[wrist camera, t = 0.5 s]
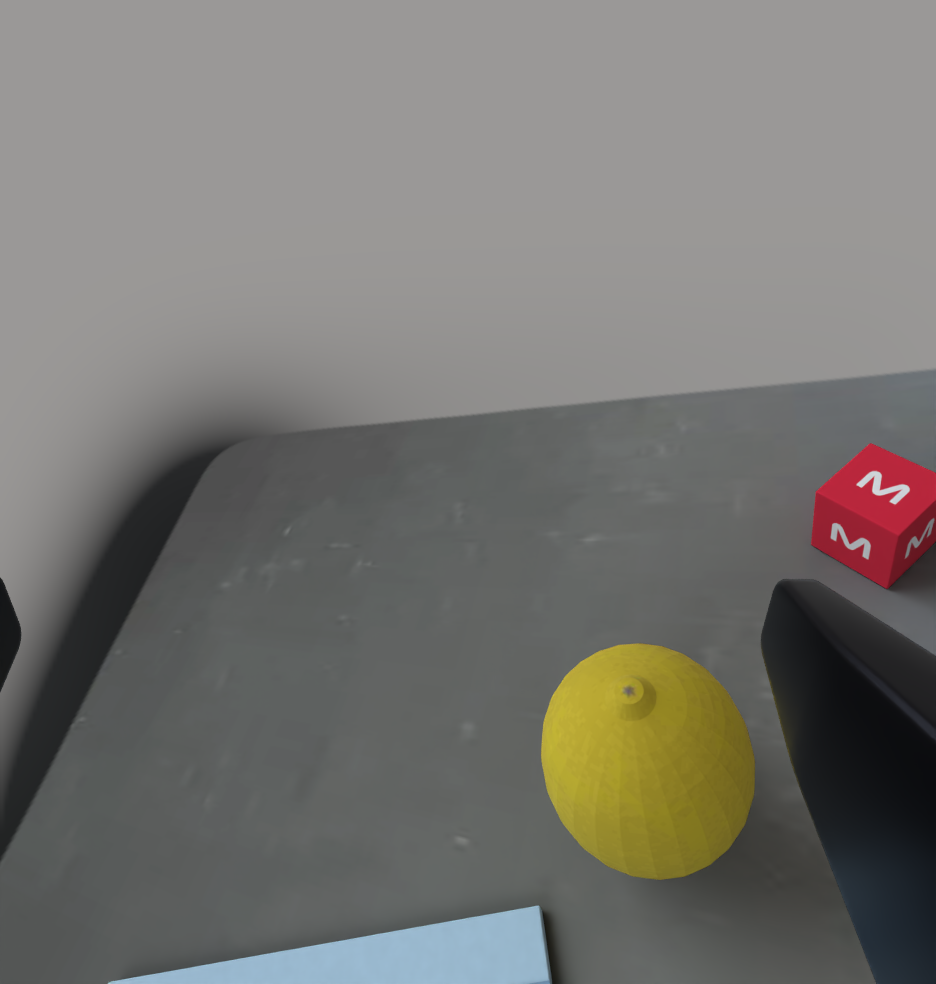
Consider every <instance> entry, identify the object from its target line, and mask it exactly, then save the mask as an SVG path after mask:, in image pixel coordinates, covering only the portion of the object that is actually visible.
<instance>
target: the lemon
mask: <svg viewBox="0 0 936 984" xmlns="http://www.w3.org/2000/svg"><path fill="white" fill-rule="evenodd" d="M541 760H542V765H543V771H544V776H545V781H546V787H547V791H548V794H549V796H550V798H551V801H552V803H553V805H554V807H555V809H556V811H557V813H558V815H559V817H560V819H561V821H562V823H563V824H564V826H565V827H566V828H567V829H568V831H569V832H570V833H571V834H572V835H573V837H574V838H575V839H576V840H577V842H578V843H579V844H580V845H581V846H582V847H583V848H584V849H585V850H586V851H588V852H589V853H590V854H592V855H593V856H594V857H596V858H597V859H598V860H600V861H601V862H602V863H604V864H605V865H607V866H608V867H611V868H613V869H616V870H618V871H621V872H623V873H626V874H628V875H631V876H634V877H642V878H649V879H657V880H663V879H670V878H678V877H685V876H687V875H689V874H692V873H694V872H696V871H698V870H701V869H703V868H705V867H707V866H709V865H710V864H712V863H713V862H714V861H715V860H716V859H718V858H719V857H720V856H721V855H722V854H723V853H725V852H726V851H727V850H728V849H729V848H730V846H731V845H732V843H733V842H734V840H735V839H736V837H737V836H738V834H739V833H740V831H741V830H742V828H743V827H744V825H745V823H746V820H747V816H748V813H749V810H750V807H751V803H752V800H753V797H754V789H755V759H754V754H753V750H752V746H751V742H750V738H749V734H748V730H747V727H746V724H745V722H744V720H743V718H742V716H741V714H740V713H739V711H738V709H737V707H736V706H735V704H734V702H733V700H732V698H731V697H730V695H729V694H728V692H727V691H726V690H725V688H724V687H723V686H722V685H721V684H720V683H719V682H718V681H717V680H716V679H715V678H714V677H713V676H712V675H711V674H710V672H709V671H708V670H707V669H705V668H704V667H702V666H701V665H699V664H698V663H696V662H695V661H693V660H692V659H690V658H689V657H687V656H686V655H684V654H682V653H679V652H676V651H674V650H671V649H668V648H666V647H663V646H656V645H648V644H626V645H618V646H614V647H611V648H608V649H605V650H601V651H599V652H597V653H595V654H594V655H592V656H590V657H588V658H587V659H585V660H583V661H581V662H580V663H579V664H578V665H577V666H576V667H575V668H574V669H573V670H571V671H570V672H569V673H568V674H567V675H566V676H565V678H564V679H563V681H562V682H561V684H560V685H559V687H558V688H557V690H556V691H555V693H554V695H553V696H552V698H551V701H550V704H549V707H548V710H547V713H546V716H545V720H544V724H543V735H542V748H541Z"/></svg>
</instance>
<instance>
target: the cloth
mask: <svg viewBox="0 0 936 984" xmlns="http://www.w3.org/2000/svg"><path fill="white" fill-rule="evenodd" d="M108 984H552V977H551V970H550V963H549V956H548V949H547V942H546V935H545V927H544V920H543V913H542V909H541V908H540V906H533V907H527V908H522V909H516V910H511V911H505V912H499V913H494V914H488V915H483V916H477V917H471V918H466V919H460V920H454V921H449V922H443V923H438V924H432V925H426V926H421V927H415V928H410V929H404V930H398V931H393V932H387V933H382V934H376V935H370V936H365V937H359V938H353V939H348V940H342V941H337V942H331V943H325V944H320V945H314V946H309V947H303V948H297V949H292V950H286V951H280V952H275V953H269V954H264V955H258V956H252V957H247V958H241V959H236V960H230V961H224V962H219V963H213V964H208V965H202V966H196V967H191V968H185V969H179V970H174V971H168V972H163V973H157V974H151V975H146V976H140V977H135V978H129V979H123V980H118V981H112V982H109V983H108Z"/></svg>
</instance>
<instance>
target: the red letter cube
mask: <svg viewBox="0 0 936 984" xmlns="http://www.w3.org/2000/svg"><path fill="white" fill-rule="evenodd" d="M935 542H936V473H935V472H933V471H931V470H928V469H926V468H924V467H922V466H920V465H917V464H915V463H913V462H911V461H909V460H906V459H904V458H902V457H900V456H898V455H896V454H893V453H891V452H889V451H887V450H885V449H882V448H880V447H878V446H876V445H874V444H871V443H870V444H869V445H868V446H867V447H865V448H864V449H863V450H862V451H861V452H860V453H859V454H858V455H856V456H855V457H854V458H853V459H852V460H851V461H850V462H849V463H847V464H846V465H845V466H844V467H843V468H842V469H841V470H840V471H838V472H837V473H836V474H835V475H834V476H833V477H832V478H831V479H830V480H828V481H827V482H826V483H825V484H824V485H823V486H822V487H821V488H819V489H818V490H817V491H816V497H815V508H814V519H813V530H812V541H811V545H812V546H814V547H816V548H818V549H819V550H821V551H823V552H824V553H826V554H828V555H829V556H831V557H833V558H835V559H836V560H838V561H840V562H841V563H843V564H845V565H847V566H848V567H850V568H852V569H853V570H855V571H857V572H858V573H860V574H862V575H864V576H865V577H867V578H869V579H870V580H872V581H874V582H876V583H877V584H879V585H881V586H882V587H884V588H886V589H888V588H889V587H890V586H891V585H892V584H893V583H894V582H895V581H896V580H897V579H898V578H899V577H900V576H901V575H902V574H903V573H904V572H905V571H906V570H907V569H908V568H909V567H910V566H911V565H913V564H914V563H915V562H916V561H917V560H918V559H919V558H920V557H921V556H922V555H923V554H924V553H925V552H926V551H927V550H928V549H929V548H930V547H931V546H932V545H933V544H934V543H935Z"/></svg>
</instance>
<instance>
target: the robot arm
mask: <svg viewBox="0 0 936 984" xmlns="http://www.w3.org/2000/svg"><path fill="white" fill-rule="evenodd" d="M20 641H21V627H20V624H19V621H18V618H17V616H16V613H15V611H14V608H13V605H12V603H11V600H10V598H9V595H8V593H7V590H6V587H5V585H4V583H3V581H2V579H1V578H0V692H1V689H2V687H3V685H4V682H5V680H6V678H7V675H8V673H9V670H10V668H11V666H12V663H13V661H14V659H15V656H16V654H17V651H18V649H19V646H20ZM761 649H762V655H763V659H764V663H765V666H766V670H767V674H768V678H769V681H770V685H771V689H772V693H773V696H774V700H775V704H776V708H777V712H778V715H779V719H780V723H781V727H782V730H783V734H784V738H785V742H786V745H787V749H788V753H789V756H790V760H791V763H792V766H793V770H794V773H795V776H796V778H797V781H798V784H799V787H800V789H801V792H802V795H803V797H804V800H805V802H806V805H807V807H808V810H809V813H810V815H811V818H812V820H813V823H814V825H815V828H816V830H817V833H818V836H819V838H820V841H821V843H822V846H823V848H824V851H825V853H826V856H827V859H828V861H829V864H830V866H831V869H832V871H833V874H834V876H835V879H836V882H837V884H838V887H839V889H840V892H841V894H842V897H843V899H844V902H845V904H846V907H847V910H848V912H849V915H850V917H851V920H852V922H853V925H854V927H855V930H856V933H857V935H858V938H859V940H860V943H861V945H862V948H863V950H864V953H865V956H866V958H867V961H868V963H869V966H870V968H871V971H872V973H873V976H874V979H875V981H876V984H936V656H935V655H934V654H932V653H930V652H929V651H927V650H926V649H924V648H923V647H921V646H919V645H918V644H916V643H915V642H913V641H912V640H910V639H908V638H907V637H905V636H904V635H902V634H901V633H899V632H897V631H896V630H894V629H893V628H891V627H890V626H888V625H886V624H885V623H883V622H882V621H880V620H879V619H877V618H875V617H874V616H872V615H871V614H869V613H868V612H866V611H864V610H863V609H861V608H860V607H858V606H857V605H855V604H853V603H852V602H850V601H849V600H847V599H846V598H844V597H842V596H841V595H839V594H838V593H836V592H835V591H833V590H831V589H830V588H828V587H827V586H825V585H824V584H822V583H820V582H819V581H816V580H812V579H783V580H781V581H779V582H778V583H777V584H776V586H775V588H774V590H773V594H772V597H771V601H770V604H769V608H768V612H767V615H766V619H765V623H764V626H763V630H762V634H761Z"/></svg>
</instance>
